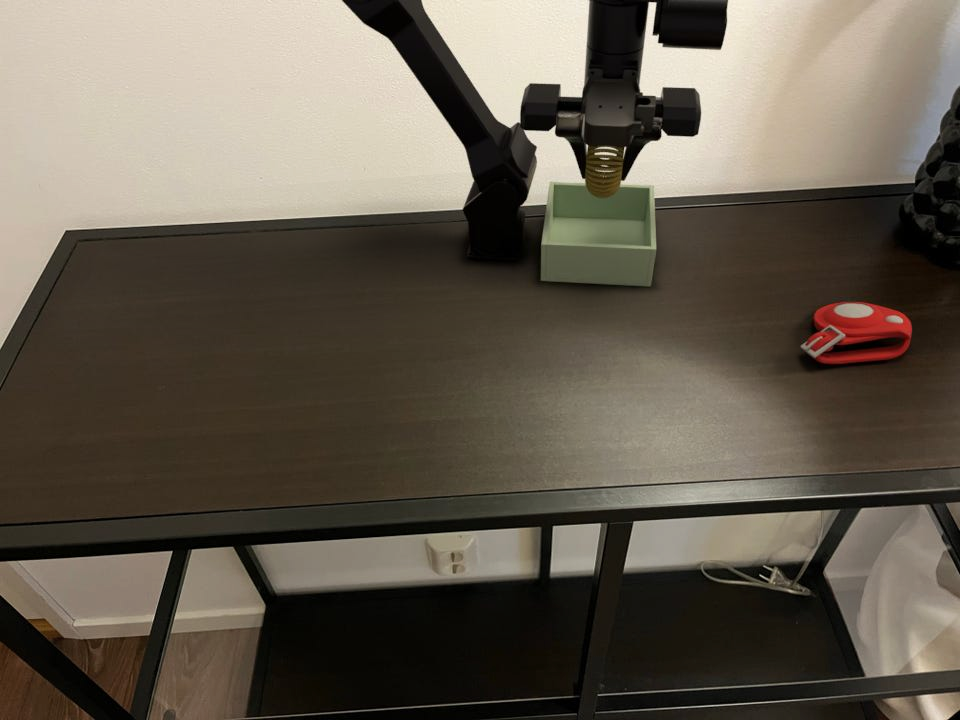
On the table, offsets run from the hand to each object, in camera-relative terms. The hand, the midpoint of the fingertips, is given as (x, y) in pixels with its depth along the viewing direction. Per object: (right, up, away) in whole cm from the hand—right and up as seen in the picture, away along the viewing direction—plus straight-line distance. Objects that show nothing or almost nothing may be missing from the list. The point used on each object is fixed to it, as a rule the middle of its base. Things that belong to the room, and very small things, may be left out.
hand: (603, 178), depth 86 cm
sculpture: (0, -2, +2) cm, 2 cm away
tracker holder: (+25, -19, -4) cm, 32 cm away
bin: (+1, -7, +9) cm, 11 cm away
